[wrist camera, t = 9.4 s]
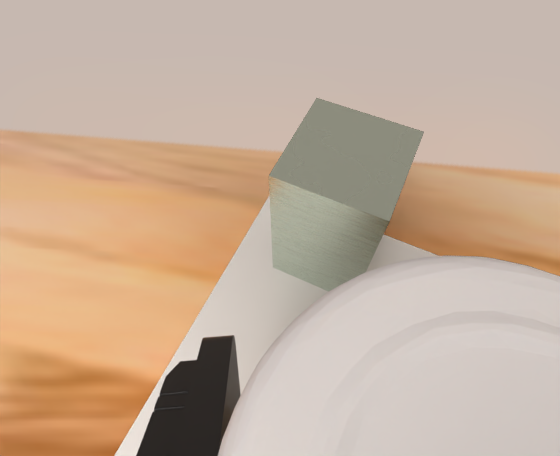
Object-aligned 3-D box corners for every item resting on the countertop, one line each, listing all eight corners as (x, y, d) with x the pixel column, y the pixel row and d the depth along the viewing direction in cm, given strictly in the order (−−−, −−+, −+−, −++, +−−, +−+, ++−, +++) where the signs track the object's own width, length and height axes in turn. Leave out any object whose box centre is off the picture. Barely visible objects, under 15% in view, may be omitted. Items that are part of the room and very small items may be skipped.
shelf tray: (104, 495, 15) (65, 505, 12) (272, 206, 22) (271, 171, 19) (471, 734, 12) (529, 819, 9) (531, 309, 19) (575, 284, 16)
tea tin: (272, 267, 18) (268, 175, 12) (306, 204, 20) (316, 97, 14) (351, 301, 17) (389, 221, 11) (379, 232, 19) (423, 132, 13)
